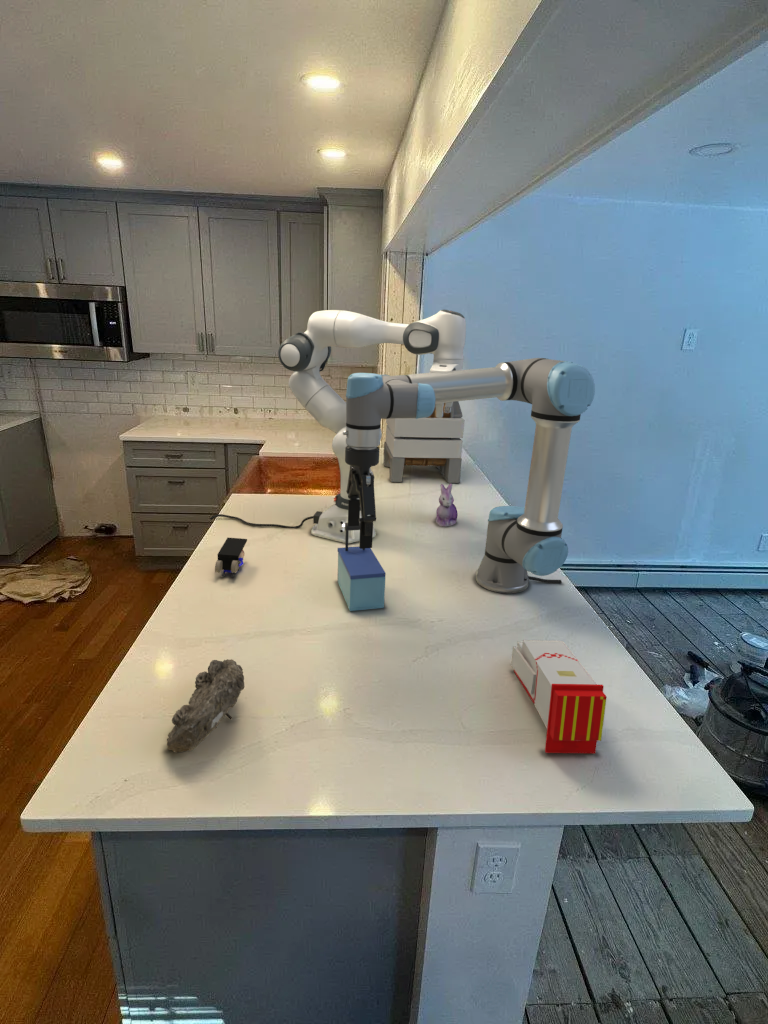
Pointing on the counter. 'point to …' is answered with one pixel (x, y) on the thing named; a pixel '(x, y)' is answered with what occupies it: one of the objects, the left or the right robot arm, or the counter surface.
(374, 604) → the chest
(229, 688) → the fossil
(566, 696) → the toy
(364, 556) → the lid
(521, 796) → the counter surface
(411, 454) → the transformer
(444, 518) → the figurine
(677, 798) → the counter surface
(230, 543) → the figurine character
